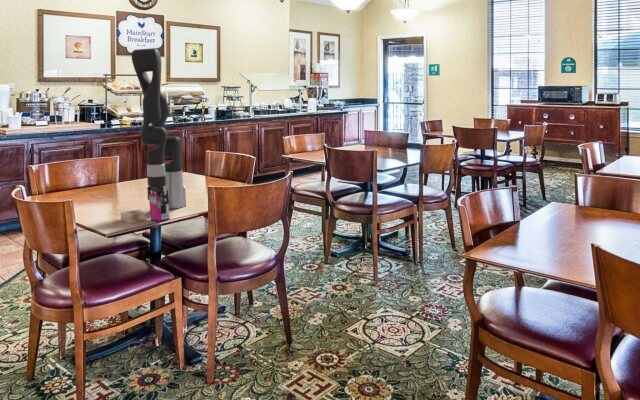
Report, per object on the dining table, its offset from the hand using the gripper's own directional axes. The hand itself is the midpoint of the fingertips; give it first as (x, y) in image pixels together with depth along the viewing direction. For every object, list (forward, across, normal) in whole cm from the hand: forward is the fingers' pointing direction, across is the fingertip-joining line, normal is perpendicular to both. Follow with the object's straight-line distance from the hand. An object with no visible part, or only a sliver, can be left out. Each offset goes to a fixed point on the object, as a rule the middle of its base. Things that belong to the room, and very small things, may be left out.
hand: (158, 212), depth 231 cm
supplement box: (+4, 0, 0) cm, 4 cm away
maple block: (+4, +8, +8) cm, 12 cm away
